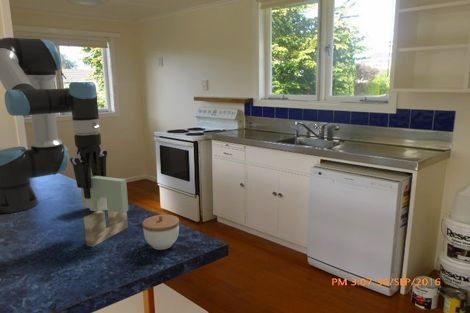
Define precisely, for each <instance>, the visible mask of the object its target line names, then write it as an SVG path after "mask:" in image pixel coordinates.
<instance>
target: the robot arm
mask: <svg viewBox="0 0 470 313" xmlns="http://www.w3.org/2000/svg"><path fill="white" fill-rule="evenodd" d="M61 65H62V64H61V57H60V53H59V50H58V48H57V46H56V45H55V43H54V42H53V41H51V40H49V39H42V38H27V37H26V38H23V37H2V38H0V83H1V84H2V86H3V88H4V89H5V92H4V105H5V108H6V112H7V113H8V115H10V116H16V117H17V116H19V117H20V116H22V117H26V116H31V122H32V132H33V141H32V142H30V149H27V148H26V147H25V146H23V145H21V146H19V145H18V146H13V147H8V148H7V147H6V148H3V149H1V150H0V214H9V213H10V214H11V213H17V212H22V211H25V210H26V211H27V210H29V209H32V208H34V207H35V206H37V205H38V197H37V195H36V193H35V191H34V190H33V188H32V186H31V181H30V179H34V178H42V177H46V176H55V175H58V174H63V173H64V172H66V171H67V169H68V167H69V163H70V162H71V165H72V168H73V173H74V177H75V183H76V187H77V188H78V189H81V188H83V190H84V197H85V199H86V205H87V207H86V208H87V209H90V208H95V202H94V192H93V188H91V175H94V176H103V177H106V176H107V156H108V151H107V150H102V149H101V148H102V147H101V145H102V138H101V137H102V136H101V126H100V117H99V104H98V92H97V86H96V84H95V83H94V82H93V81H80V82H79V81H75V82H74V81H72V82H70V83H69V84H68V87H65V88H54V86H53V84H54V82H53V80H54V79H55V77H56V76H57V73H56V72H58V71H59V70H60V69H61ZM63 113H64V114H65V113H71V116H72V117H71V118H72V119H71V120H72V128H73V129H72V130H73V133H74V145H75V147H76V149H77V151H76V155H75V156H74V157H70V153H69V149H68V147H67V146H66V145H65V144H63V141H62V140H61V139H60V138H59V136H58V126H57V117H56V116H57V115H56V114H63ZM86 184H87V185H86Z"/></svg>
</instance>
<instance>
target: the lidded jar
mask: <svg viewBox="0 0 470 313" xmlns="http://www.w3.org/2000/svg"><path fill="white" fill-rule="evenodd" d="M142 229H143V230H142V231H143V236H144V239H145V241H146V243H147V244H148V245H150V247H152V249H154V250H158V251H159V250H160V251H162V250H167V249H170V248H171V247H173V245H174V244H175V242H176V241H178V240H177V239H178V237H179V232H180V219H179V217H178V216H175V215H172V214H157V215H153V216H152V215H151V216H150V217H147V218H145V219H144V220H143V221H142Z"/></svg>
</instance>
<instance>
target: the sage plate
mask: <svg viewBox="0 0 470 313" xmlns="http://www.w3.org/2000/svg"><path fill="white" fill-rule="evenodd" d="M86 185H87V184H86ZM127 186H128V185H127V179H126V178H120V177H119V178H118V177H112V176H111V177H110V176H108V177H103V176H94V175H92V174H91V188H93V192H94V202H95V209H98V208H101V207H103V198H107V209H108V210H107V212H108V211H114V212H120V213H124V212H126V211H127V212H128V211H129V201H128V200H129V198H128V188H127ZM80 189H81V200H82V207H84V208H87V205H86V199H85V197H84V190H83V188H80Z"/></svg>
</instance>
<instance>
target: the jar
mask: <svg viewBox="0 0 470 313" xmlns="http://www.w3.org/2000/svg"><path fill="white" fill-rule="evenodd" d="M106 177H109V176H108V175H106ZM89 210H90V211H92V212H97V211H103V212H105V211H108V209H107V198H103V207H101V208H98V209H95V208H89Z"/></svg>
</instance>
